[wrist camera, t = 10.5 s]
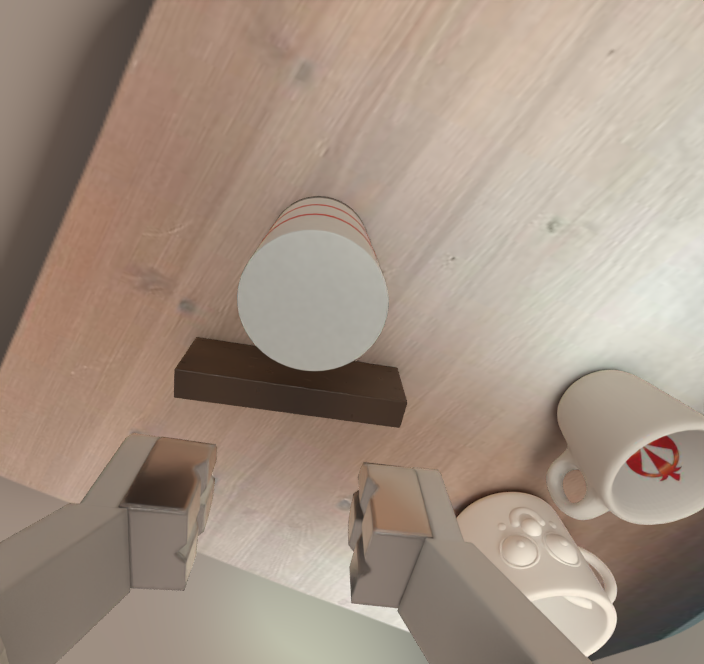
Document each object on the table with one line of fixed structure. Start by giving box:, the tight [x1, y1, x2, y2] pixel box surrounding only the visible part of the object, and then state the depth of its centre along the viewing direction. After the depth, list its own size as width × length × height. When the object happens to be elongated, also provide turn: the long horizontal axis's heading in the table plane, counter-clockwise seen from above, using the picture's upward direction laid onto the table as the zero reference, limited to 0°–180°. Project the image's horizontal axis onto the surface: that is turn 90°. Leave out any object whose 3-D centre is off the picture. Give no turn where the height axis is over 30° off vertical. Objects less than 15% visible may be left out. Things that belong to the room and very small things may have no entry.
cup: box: [546, 370, 704, 525], centre depth 28 cm, size 11×8×8 cm
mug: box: [456, 492, 617, 657], centre depth 32 cm, size 12×10×9 cm
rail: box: [174, 337, 407, 428], centre depth 27 cm, size 14×2×4 cm, turn 79°
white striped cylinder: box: [237, 196, 389, 371], centre depth 21 cm, size 6×11×11 cm
